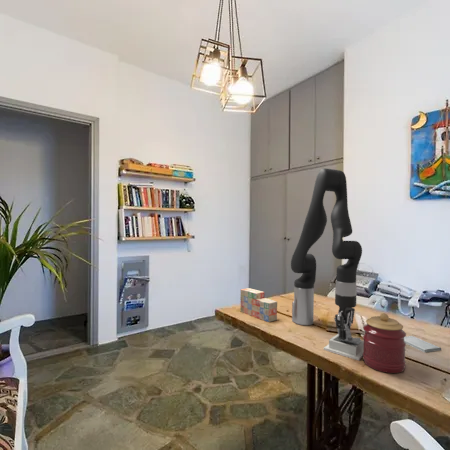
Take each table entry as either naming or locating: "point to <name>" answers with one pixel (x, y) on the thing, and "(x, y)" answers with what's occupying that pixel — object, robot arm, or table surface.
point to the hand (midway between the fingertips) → (344, 337)
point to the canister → (384, 344)
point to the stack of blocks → (258, 305)
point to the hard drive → (420, 344)
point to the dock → (345, 348)
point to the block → (349, 337)
